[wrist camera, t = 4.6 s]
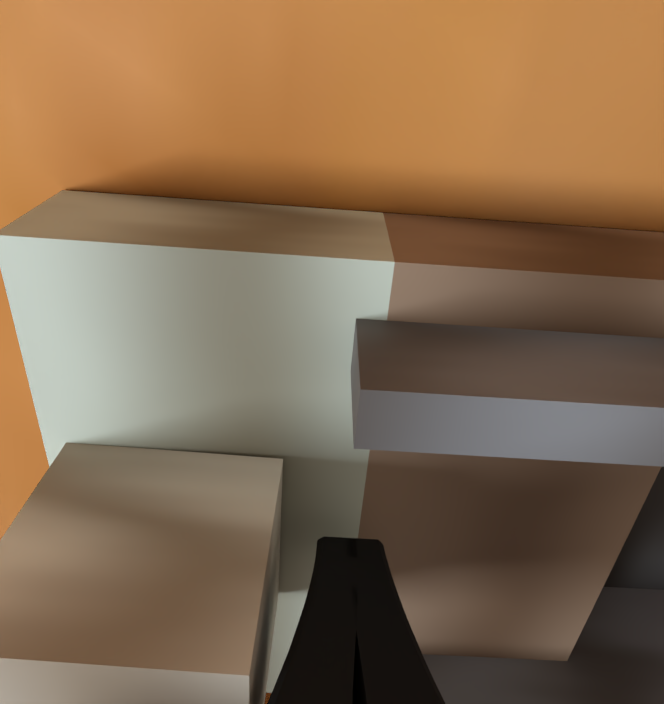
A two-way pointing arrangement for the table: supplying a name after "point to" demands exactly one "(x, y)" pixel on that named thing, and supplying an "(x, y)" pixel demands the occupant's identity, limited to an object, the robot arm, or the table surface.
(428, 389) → the tunnel deck
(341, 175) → the table surface
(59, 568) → the cream block
